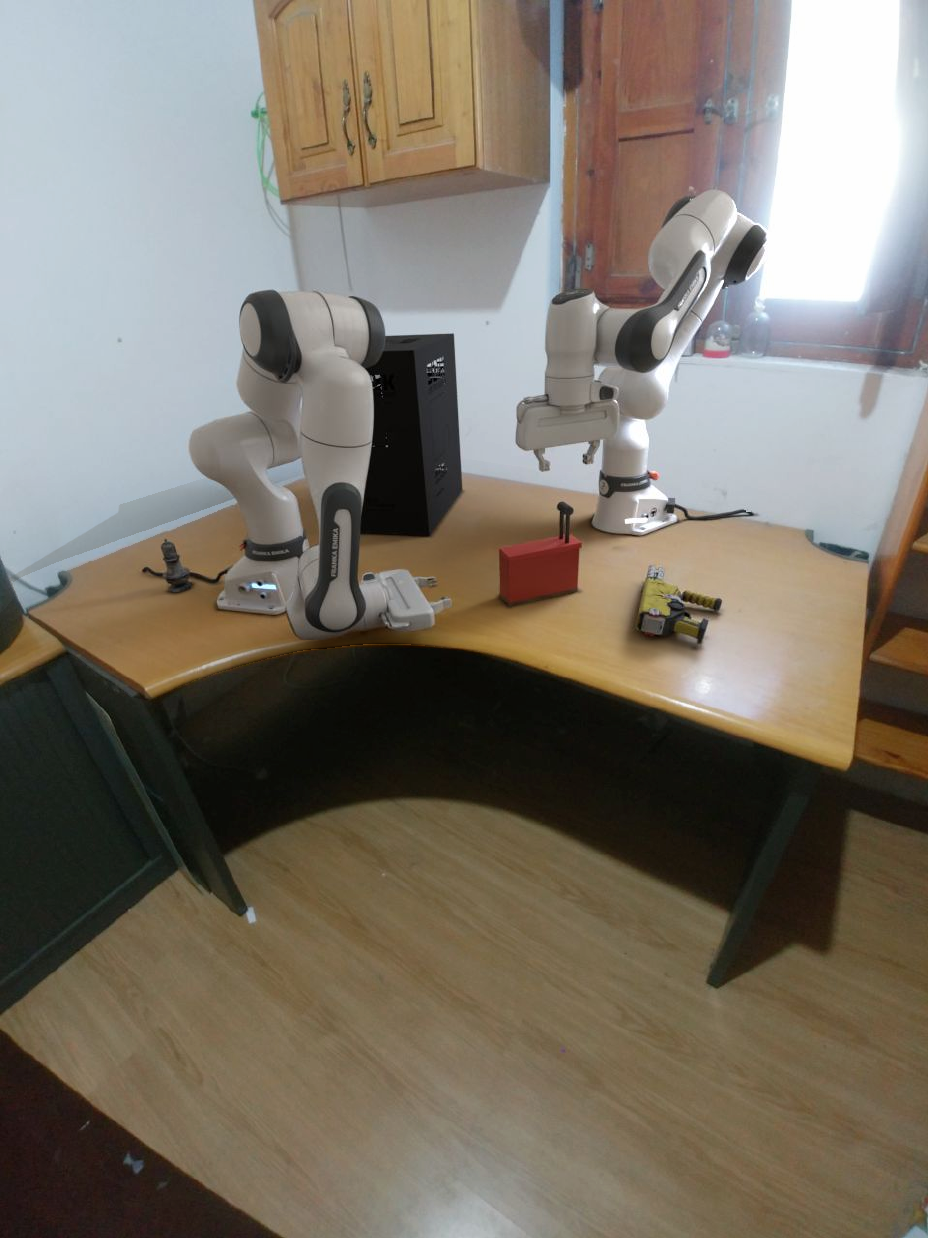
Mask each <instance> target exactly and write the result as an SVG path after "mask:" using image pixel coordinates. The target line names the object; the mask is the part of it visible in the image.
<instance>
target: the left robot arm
mask: <svg viewBox="0 0 928 1238" xmlns="http://www.w3.org/2000/svg"><path fill="white" fill-rule="evenodd" d="M381 314H382V313H380V310H379V309H378V307H377V306H376V305H375V304H374V303H372V302H370V301H369V300H366V299H364V298H361V297H358V296H355V295H349V296H346V295H341V294H338V293H334V292H333V293H331V292H328V291H327V292H326V291H319V290H312V291H305V290H288V291H287V290H286V291H284V290H283V291H277V290H275V289H264V290H258V291H254V292H251V293H249V294H248V295H247V296H246V297H245V299H244V300H243V303H242V304H241V307H240V310H239V316H238V317H239V319H238V328H239V336H240V341H241V343H242V351H241V356H240V361H239V366H238V372H237V377H236V382H235V383H236V388H237V389H236V390H237V392H238V396H239V397H240V400H241V401H242V402H243V404H244V405H245V406H246V407H248V408H249V409H250V410H249V411H245V412H242V413H239V414H238V413H237V414H233V415H229V416H225V417H220V418H216V419H215V418H214V419H213V420H211V421H209V422H206V423H204V424H203V425H200V426H198V427H196V428H194V429H193V430H192V431H191V434H190V437H189V439H188V454H189V457H190V460H191V461H192V464H193V465H194V467H195V468H196V469H197V471H199V472H200V473H201V475H203V476H204V477H205V478H207V479H209V480H211V481H213V482H216V483H218V484H220V485H221V486H223V487H224V488H225V489H226V490H227V491H228V492H230V494H231V495H232V496H233V497H234V499H235V500H236V502H237V504H238V506H239V509H240V511H241V515H242V517H243V520H244V524H245V527H246V532H247V534H246V537H245V538H244V539H243V540H242V541H241V542H242V543H240V545H239V546H238V548H240V549H239V551H240V552H242V551H243V550H244V554H243V555H242V556H241V557H240V558H239V559H238V560H237V561H236V562H235V563H234V564H232V565H230V566H228V567H227V568H224V570H222V571H220V572H219V573H218V574H217V575H216V577H215V578H209V577H207V576H204V575H203V574H200V573H197V572H193V571H190V572H189V574H190V575H189V577H190V576H191V577H196V578H198V579H201V580H203V581H205V582H208V583H211V584H213V583H214V584H215V583H218V582H219V581H220V580H221V578H222V577H223V576H224V575H225V576H224V582H223V583H224V586H223V588H224V589H223V590H222V591H221V592H220V593H219V595H218V596H217V599H216V607H217V609H219V610H226V611H235V612H244V613H252V614H253V613H254V614H263V615H272V616H277V615H281V614H282V613H285V614H286V615H285V616H286V618H287V621H288V623H289V626H290V629H291V631H292V633H293V634H294V636H296V637H297V638H298V639H299V640H302V641H319V640H326V639H331V638H337V637H341V636H344V635H345V634H348V633H350V632H365V631H369V630H374V629H379V628H385V629H389V630H392V631H396V632H399V633H408V632H414V631H415V632H416V631H417V632H418V631H422V630H423V631H424V630H429V629H431V628H432V627H433V626H435V615H438V614H439V613H440V612H442V611H444V610H446V609H450V608H452V606H453V602H452V599H451V598H450V597H449V596H448V595H447V596H443V597H440V599H439V600H437V601H435V602H434V601H428V599H427V598H426V596H425V595H424V593H423V592H422V590H421V588H428V589H433V588H437V587H438V580H437V578H436V577H435V576H429V577H427V576H426V577H425V576H412V574H411V573H410V572H409V569H404V568H397V569H396V568H395V569H389V570H383V571H378V572H376V573H374V572H372V571H369V572H364V573H363V574H362V577H361V580H360V582H359V561H360V543H361V533H360V526H361V513H362V507H363V500H364V492H365V485H366V479H367V473H368V467H369V461H370V454H371V447H372V437H373V424H374V401H373V387H372V381H373V379H372V380H371V378H372V377H370V375H369V373H368V372H367V371H366V369H365V368H368V367H371V366H373V365H375V364H376V363H377V362H378V360H379V359H380V357H381V355H382V352H383V349H384V346H385V336H386V326H385V323H384V319H383V317H382V315H381ZM299 459H300V461H301V466H302V471H303V475H304V479H305V483H306V485H307V488H308V491H309V494H310V497H311V500H312V503H313V506H314V510H315V513H316V518H317V523H318V535H319V536H318V544H315V545H311V546H310V544H309V540H308V537H307V533H306V530H305V528H303V522H302V518H301V512H300V508H299V502H298V498H297V497H296V495H295V494H294V493H293V492H292V491H291V490H290V489H288V488H287V487H284V486H282V485H278V484H274V483H272V481H271V480H270V478H269V475H268V470H269V469H274V468H277V467H279V466H283V465H286V464H290V463H294V462H295V461H297V460H299ZM141 572H142V573H146V572H148V573H149V574H151V575H153V576H155V577H163V576H162V575H163V574H164V573H165V572H157V571H155V570H153V569H152V568H150V567H148V566H144V567H143V568H142V570H141Z"/></svg>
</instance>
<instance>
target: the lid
mask: <svg viewBox="0 0 928 1238" xmlns="http://www.w3.org/2000/svg"><path fill="white" fill-rule="evenodd" d="M556 510H557V511H559V519H558V520H559V522H558V536H554V537H549V538H542V539H538V540H537V539H536V540H533V541H528V542H522V543H518V544H511V545H507V546H501V547H499V548H498V555H499V554H500V555H501V556H502V557H503V558H504V559H506V560H507V561H508V562H514V561H519V560H524V559H529V558H534V557H539V556H544V555H549V554H554V553H559V552H564V551H569V550H574V549H579V550H580V549H582V548H583V543H582V541H581V540H579V539H577V538H576V537H574V536H573V535H572V534H571V533H570V531H571V516H572V515H573V514H574V507H572V506H571V505H569V504H568V503H566V502H564V501H559V502H558V503H557V504H556Z"/></svg>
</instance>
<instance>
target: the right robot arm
mask: <svg viewBox="0 0 928 1238" xmlns="http://www.w3.org/2000/svg"><path fill="white" fill-rule="evenodd" d="M770 244H771V234H770V232H769V231H768V230H767V229H766V228H765V227H764V226H763V225H761V224H760V223H759V222H757V223H755V222H753V221H752V220H751V219H749V218H747V217H746V216H745V215H743V214H741V213H739V212H737V208H736V204H735V202H734V200H733V198H732V197H730V195H729V194H727V193H726V192H724V191H723V190H719V189H709V190H705V191H704V192H701V193H699V195H697V196H695V195H686V196H683V197H681V198H679V199H677V200H676V201H675V202H674V203H673V205H672V206H671V208H670V209H669V210H668V212H667V214H666V216H665V218H664V220H663V223H662V225H661V229H660V230H659V231H658V233H657V234H656V235H655V237H654V238H653V240H652V242H651V244H650V246H649V248H648V254H647V263H648V268H649V272H650V275H651V277H652V278H653V280H654V281H655V283H656V284H657V285H658V286H659V287H660V288H661V289H663V290H664V291H663V293H662V294H661V295H660V297H659V298H658V300H657V301H656V302H655V303H654V304H653V305H648V306H646V307H645V306H644V307H641V308H640V307H639V308H617V307H610V306H608V305H606V304H604V303H602V302H601V301H600V300H599V299H598V298H597V296H596V293H595V291H594V290H592V289H589V288H575V289H572V290H565V291H562V292H560V293H558V294H556V295H555V296H554V297H553V298H552V299H551V300H550V302H549V304H548V309H547V314H546V320H545V335H544V338H545V339H544V351H545V354H546V367H545V371H544V391H543V392H544V393H543V394H540V395H535V396H526V397H524V398H523V399H522V400H520V401H519V402H518V403H517V406H516V428H515V444H516V446H517V447H518V448H519V449H521V450H522V451H524V452H530V451H533V455H534V456H535V458H536V459H537V461H538V470H539V471H540V472H542V473H544V472H548V471H550V470H551V467H550V466H551V462H550V461H549V460H547V459H545V457H544V455H545V454H546V449H549V448H556V447H563V446H569V445H576V444H582V443H587V444H588V445H589V447H588V448H587V451H586V452H585V453H582V464H584V465H587V466H588V465H592V464H594V459H595V455H596V453H597V451H598V450H599V448H600V446H601V441H602V453H601V468H600V470H599V474H598V492H599V493H598V498H597V502H596V507H595V511H594V514H593V517H592V520H591V525H592V526H593V527H594V528H595V529H597V530H599V531H601V532H605V533H611V534H623V535H625V534H626V535H632V536H633V535H634V536H645V535H646V534H650V533H652V532H654V531H657V530H660V529H662V528H665V527H668V526H670V525H672V524H675V523H677V522H678V516H677V515H676V514H675V509H677V510H680V511H681V512H683V515H684V518H686V519H688V520H691V521H702V520H709V519H719V518H723V517H729V516H735V515H739V514H748V515H749V516H751V517H753V516H755V513H754V512H753V511H751V510H750V511H751V512H746V510H744V509H745V508H741V509H737V510H733V511H726V512H720V513H715V514H708V515H707V514H706V515H700V516H699V515H697V516H693V515H690V514H689V512H688V510H687V509H686V508H685V507H684V506H682V505H679V504H677V503H676V497H667V496H666V495H665V494H664V493H663V492H661V491H660V490H659V489H658V488H656V487H655V486H654V485H652V483H651V480H653V481H658V479H659V478H660V473H659V472H657V471H654V470H651V471H649V470H648V469H647V466H648V458H649V457H648V456H649V446H650V438H649V434H648V431H647V427H646V421H649V420H652V419H655V418H656V417H658V416H659V415H660V414H661V413H662V412H663V411H664V410H665V408H666V407H667V404H668V401H669V396H670V392H669V389H670V384H671V382H672V379H673V376H674V373H675V372H676V369H677V366H678V363H679V361H680V359H681V357H682V355H683V354H684V352H685V351H686V349H687V347H688V345H689V344H690V342H691V341H692V339H693V338H694V336H695V335H696V333H697V331H698V330H699V329H700V327H701V325H702V323H704V320H705V319H706V318H707V315H708V314H709V313H710V310H712V307H713V305H714V304H715V301H716V300H717V299H716V298H717V297H718V295H719V293H720V290H727V289H729V287H730V286H737V285H739V284H742V283H744V282H746V281H748V280H749V279H750V278H751V277H752V276H753V275H754V274H755V273H756V272H757V271H758V270H759V269H760V268H761V266H762V264H763V263H764V261H765V259H766V257H767V254H768V251H769V247H770ZM594 366H596V367H603V368H604V369H603V370H602V371H601V372H600V373H599V375H598V377H597V379H595V375H596V374H595V372H596V371H595V367H594Z"/></svg>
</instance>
